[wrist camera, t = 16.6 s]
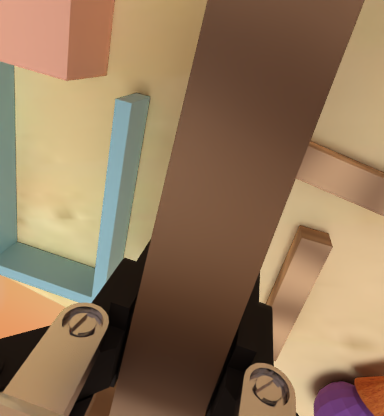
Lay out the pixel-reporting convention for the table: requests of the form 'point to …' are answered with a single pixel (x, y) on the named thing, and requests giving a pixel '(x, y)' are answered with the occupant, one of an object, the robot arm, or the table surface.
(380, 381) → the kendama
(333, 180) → the plain stick
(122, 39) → the table surface
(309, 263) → the plain stick
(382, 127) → the table surface
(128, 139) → the cubby
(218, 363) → the crook rake
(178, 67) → the table surface
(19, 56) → the clay-red block
